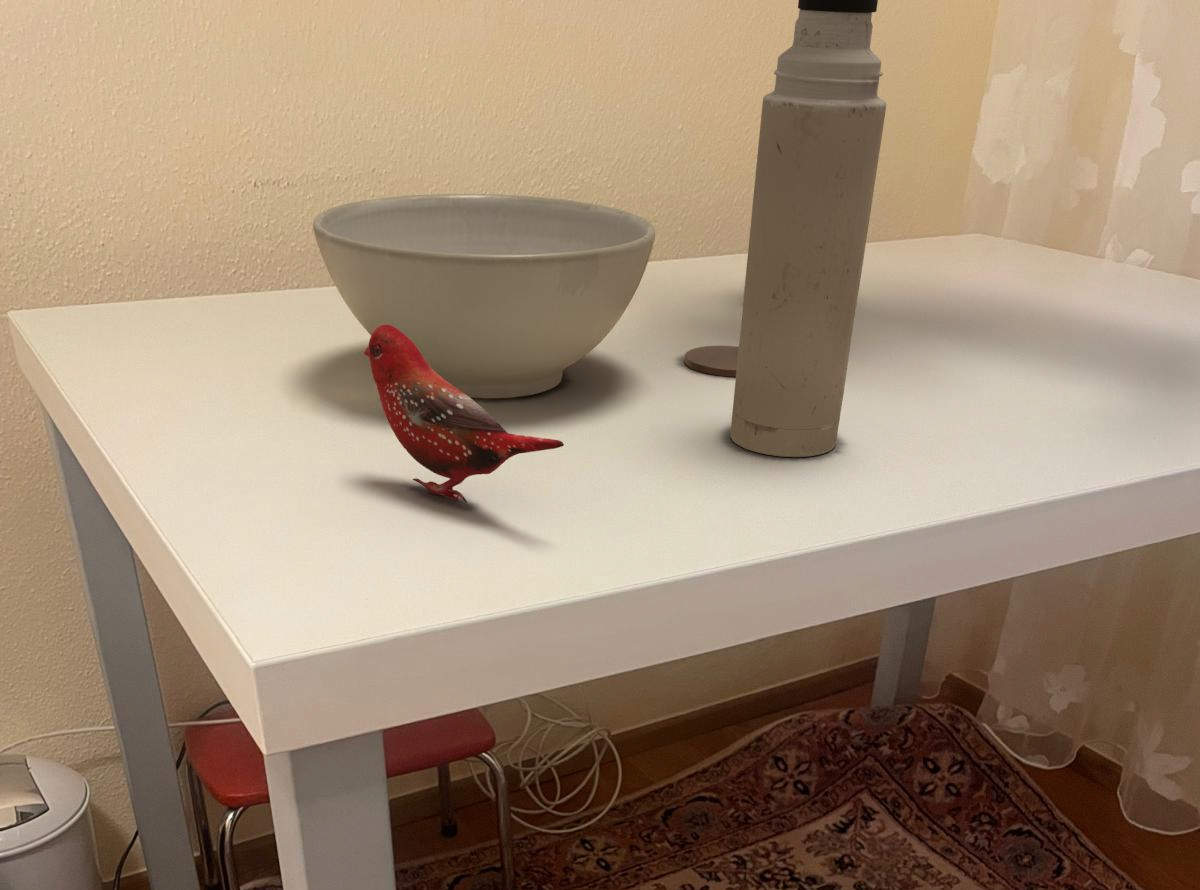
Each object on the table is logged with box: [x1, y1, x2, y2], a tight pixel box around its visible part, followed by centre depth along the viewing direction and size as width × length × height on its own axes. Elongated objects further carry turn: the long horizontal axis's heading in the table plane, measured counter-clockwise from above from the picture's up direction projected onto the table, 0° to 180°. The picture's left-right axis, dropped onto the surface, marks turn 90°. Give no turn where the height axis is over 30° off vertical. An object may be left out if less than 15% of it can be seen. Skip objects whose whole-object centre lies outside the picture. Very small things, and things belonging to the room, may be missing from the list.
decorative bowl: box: [312, 193, 656, 399], centre depth 98 cm, size 27×27×12 cm
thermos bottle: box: [729, 0, 887, 458], centre depth 82 cm, size 8×8×28 cm
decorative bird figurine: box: [363, 325, 565, 503], centre depth 75 cm, size 3×18×10 cm, turn 49°
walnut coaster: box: [684, 345, 739, 378], centre depth 107 cm, size 8×8×1 cm
